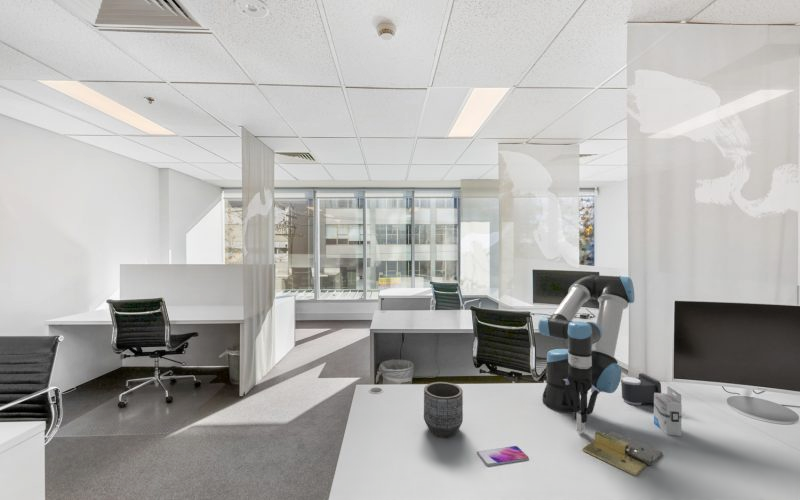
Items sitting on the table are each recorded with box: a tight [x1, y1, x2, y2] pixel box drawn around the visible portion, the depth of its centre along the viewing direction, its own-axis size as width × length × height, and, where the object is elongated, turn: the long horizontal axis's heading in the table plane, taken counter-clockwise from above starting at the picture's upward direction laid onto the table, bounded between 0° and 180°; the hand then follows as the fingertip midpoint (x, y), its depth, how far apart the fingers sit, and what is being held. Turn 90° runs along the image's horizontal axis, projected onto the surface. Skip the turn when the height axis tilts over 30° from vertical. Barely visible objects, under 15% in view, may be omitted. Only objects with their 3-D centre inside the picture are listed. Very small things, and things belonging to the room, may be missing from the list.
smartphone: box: [476, 445, 530, 467], centre depth 104 cm, size 7×1×15 cm
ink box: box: [653, 385, 683, 436], centre depth 121 cm, size 9×5×15 cm, turn 168°
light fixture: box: [620, 372, 662, 406], centre depth 143 cm, size 11×13×11 cm
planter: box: [423, 381, 464, 438], centre depth 120 cm, size 14×14×15 cm
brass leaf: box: [582, 430, 647, 477], centre depth 104 cm, size 15×11×3 cm
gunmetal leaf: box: [607, 431, 664, 466], centre depth 108 cm, size 15×11×3 cm
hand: (580, 429), depth 118 cm, fingers closed
